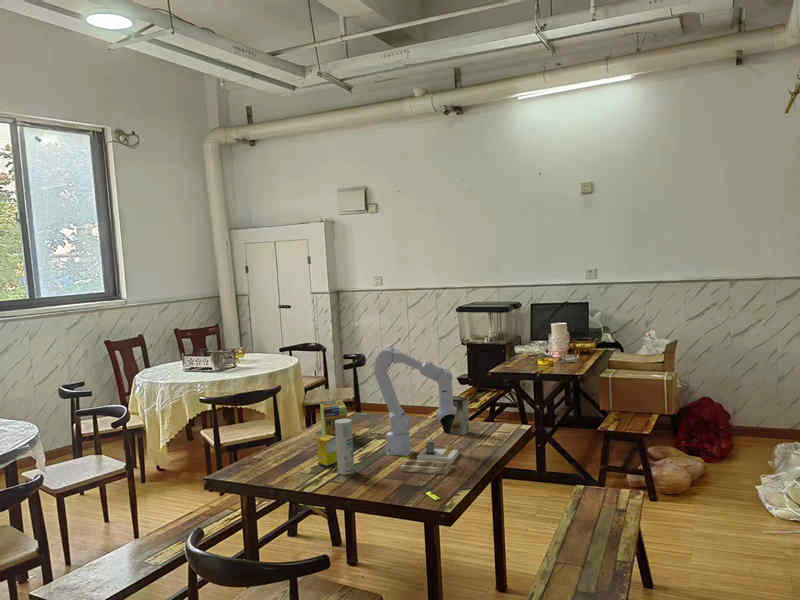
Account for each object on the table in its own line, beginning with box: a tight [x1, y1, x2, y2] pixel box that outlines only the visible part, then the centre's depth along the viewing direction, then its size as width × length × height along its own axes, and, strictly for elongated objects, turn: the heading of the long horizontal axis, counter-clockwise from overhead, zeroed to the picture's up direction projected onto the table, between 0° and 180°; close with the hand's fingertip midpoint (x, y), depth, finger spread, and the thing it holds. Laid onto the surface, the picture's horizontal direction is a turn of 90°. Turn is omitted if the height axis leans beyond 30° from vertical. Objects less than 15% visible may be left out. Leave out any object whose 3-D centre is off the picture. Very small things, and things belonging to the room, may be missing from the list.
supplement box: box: [316, 435, 338, 468], centre depth 247 cm, size 6×6×11 cm
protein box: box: [319, 399, 348, 437], centre depth 283 cm, size 10×15×16 cm
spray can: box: [335, 418, 355, 476], centre depth 236 cm, size 6×6×20 cm
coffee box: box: [449, 395, 470, 436], centre depth 280 cm, size 9×6×16 cm
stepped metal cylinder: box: [425, 438, 435, 455], centre depth 246 cm, size 3×3×8 cm
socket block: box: [416, 447, 459, 465], centre depth 245 cm, size 14×11×2 cm
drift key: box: [442, 443, 456, 457], centre depth 246 cm, size 4×11×4 cm, turn 161°
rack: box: [400, 459, 452, 475], centre depth 233 cm, size 18×7×2 cm, turn 71°
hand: (447, 432), depth 251 cm, fingers closed
